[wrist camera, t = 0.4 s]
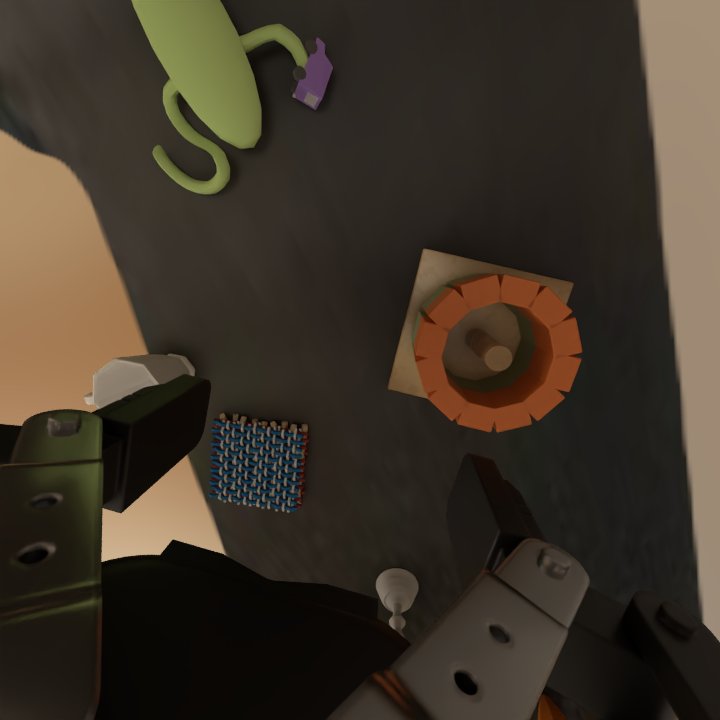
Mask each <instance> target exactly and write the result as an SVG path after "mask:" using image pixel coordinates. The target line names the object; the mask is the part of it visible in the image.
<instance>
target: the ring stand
mask: <svg viewBox="0 0 720 720" xmlns="http://www.w3.org/2000/svg"><path fill="white" fill-rule="evenodd" d="M474 273H478V274H481V273H490V274H507V275H511V276H515V277H520V278H524V279H528V280H533V281H537V282H540V283H541V284H540V285H541V286H548V287H549V288H550V289H551V290H552V291H553V292H554V293H555V294H556V295H557V296H558V297H559V298H560V299H561V300H562V301H563V302H564V303H565V304H567V301H568V298H569V296H570V293H571V290H572V287H573V284H574V283H572V282H568V281H564V280H559V279H555V278H551V277H546V276H542V275H538V274H533V273H529V272H525V271H521V270H516V269H512V268H508V267H503V266H499V265H495V264H490V263H486V262H482V261H477V260H473V259H469V258H464V257H460V256H456V255H451V254H447V253H443V252H438V251H434V250H430V249H425V248H424V249H423V250H422V254H421V258H420V262H419V266H418V270H417V273H416V277H415V281H414V285H413V289H412V293H411V297H410V301H409V305H408V309H407V312H406V316H405V320H404V324H403V328H402V332H401V336H400V340H399V344H398V348H397V351H396V355H395V359H394V363H393V367H392V371H391V375H390V379H389V383H388V389H391V390H395V391H399V392H403V393H407V394H411V395H415V396H419V397H423V398H427V399H428V395H427V393H424V390H423V386H422V383H421V379H420V376H419V372H418V368H417V365H416V361H415V357H414V352H413V347H412V343H413V341H412V334H413V330H414V326H415V323H416V319H417V315H418V311H423V312H425V310H424V309H423V307H422V305H423V304H424V303H425V302H426V301H427V300H428V299H429V298H430V296H431V295H432V294H433V293H434V292H435V291H436V290H437V289H438V288H439V287H440V286H441V285H443V286H446V287H448V285H447V282H448V281H451V280H455V279H458V278H461V277H464V276H468V275H471V274H474ZM520 340H521V335H520V330H519V326H518V322H517V317H516V315H515V314H514V313H513V312H512V311H511V310H510V309H509V308H508V307H506V306H505V305H504V304H503V303H502V302H498V303H494V304H491V305H487V306H484V307H480V308H477V309H473V310H470V311H469V312H468V313H467V314H466V315H465V316H464V317H463V318H462V319H461V320H460V321H459V322H458V323H457V324H456V325H455V326H454V327H453V328H452V329H451V330H450V331H449V334H448V338H447V341H446V345H445V348H444V352H443V355H442V361H443V364H444V367H445V368H446V369H447V370H449V371H450V372H451V373H452V374H453V375H454V376H459V377H463V378H467V379H471V380H479V379H483V378H487V377H491V376H495V375H497V374H499V373H500V372H501V371H503V370H505V369H507V368H508V367H509V366H510V365H511V363H512V361H513V360H514V358H515V355H516V352H517V349H518V346H519V343H520Z"/></svg>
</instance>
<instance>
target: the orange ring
mask: <svg viewBox="0 0 720 720" xmlns="http://www.w3.org/2000/svg"><path fill="white" fill-rule="evenodd" d="M540 284H541V283H540V282H537V281H533V280H528V279H524V278H520V277H515V276H511V275H507V274H482V275H479V276H476V277H472V278H469V279H466V280H462V281H459V282H456V283H453V286H454V289H452V288H449V287H447V288H446V289H445V290H444V291H443V292H442V293H441V294H440V295H439V296H438V297H437V298H436V299H435V300H434V301H433V302H432V303H431V304H430V305H429V306H428V307H427V308H426V309H425V312H426V313H427V315H428V316H429V317H426V316H421V319H420V322H419V326H418V330H417V334H416V337H415V341H414V349H415V351H414V357H415V361H416V365H417V368H418V372H419V376H420V379H421V383H422V386H423V390H424V393H427V395H428V399H429V400H430V401H431V402H432V403H433V404H434V405H435V406H436V407H437V408H438V409H440V410H441V411H442V412H443V413H444V414H445V415H446V416H447V417H448V418H449V419H450V420H454V419H455V418H456V421H457V423H458V424H459V425H463V426H467V427H471V428H475V429H479V430H483V431H487V432H491V430H492V427H493V426H494V428H495V429H496V431H497V432H501V431H505V430H510V429H514V428H518V427H522V426H526V425H531V424H532V423H531V418H530V414H531V415H532V416H533V417H534V418H535V419H536V420H537V421H538V420H540V419H541V418H542V417H543V416H544V415H545V414H547V413H548V412H549V411H550V410H551V409H553V408H554V407H555V406H556V405H557V404H558V403H560V402H561V401H562V400H563V399H564V398H565V397H564V396H563V395H562V394H561V393H560V392H559V391H558V390H562V391H566V392H569V391H570V388H571V386H572V383H573V381H574V378H575V375H576V373H577V370H578V367H579V365H580V362H581V358H579V357H577V356H575V355H573V354H577V353H581V352H582V348H581V342H580V337H579V332H578V327H577V322H576V318H574V317H571V316H568V315H569V314H570V313H572V310H571V309H570V308H569V307H568V306H567V305H566V304H565V303H564V302H563V301H562V300H561V299H560V298H559V297H558V296H557V295H556V294H555V293H554V292H553V291H552V290H551V289H550V288H549V287H548V286H541V285H540ZM498 302H502V303H506V304H510V305H514V306H515V307H516V308H517V309H518V310H519V311H520V312H521V313H522V314H523V315H524V316H525V317H526V318H527V319H528V320H529V321H530V322H531V325H532V330H533V334H534V339H535V343H536V348H535V351H534V354H533V357H532V359H531V362H530V365H529V368H528V370H527V371H526V372H525V373H524V374H523V375H522V376H520V377H519V378H518V379H517V380H516V381H515V382H514V383H513V384H511V385H510V386H509V387H506V388H502V389H498V390H494V391H490V392H487V393H481V392H477V391H473V390H469V389H465V388H461V387H459V386H458V385H457V384H456V383H455V382H454V381H453V380H452V379H451V378H450V377H449V376H448V375H447V374H446V372H445V368H444V364H443V361H442V355H443V352H444V348H445V345H446V341H447V338H448V334H449V331H450V330H451V329H452V328H453V327H454V326H455V325H456V324H457V323H458V322H459V321H460V320H461V319H462V318H463V317H464V316H465V315H466V314H467V313H468V312H469V311H470V310H473V309H477V308H480V307H484V306H487V305H491V304H494V303H498ZM557 389H558V390H557ZM529 413H530V414H529Z"/></svg>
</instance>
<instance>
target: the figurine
mask: <svg viewBox="0 0 720 720" xmlns="http://www.w3.org/2000/svg"><path fill="white" fill-rule="evenodd" d="M132 3H133V6H134V8H135V11H136V13H137V15H138V17H139V19H140V22H141V24H142V26H143V28H144V30H145V33H146V35H147V37H148V39H149V41H150V44H151V46H152V48H153V50H154V51H155V53H156V55H157V57H158V58H159V60H160V62H161V63H162V65H163V67H164V68H165V70H166V72H167V73H168V75H169V77H170V79H169V80H168V82H167V83H166V85H165V86H164V89H163V103H164V106H165V110H166V113H167V115H168V117H169V118H170V120H171V122H172V123H173V125H174V126H175V127H176V129H177V130H178V132H179V133H180V134H181V135H182V136H183V137H184V138H185V139H187V140H188V141H190V142H191V143H192V144H194V145H196V146H198V147H200V148H202V149H204V150H206V151H208V152H209V153H210V154H211V155H212V156H213V159H214V161H215V163H216V165H217V173H216V175H215V176H214V177H213V178H212V179H211V180H209V181H199V180H195V179H193V178H190V177H189V176H187V175H186V174H184V173H183V172H182V171H180V170H179V169H178V168H177V167H176V166H175V165H174V164H173V163H172V162H171V160H170V159H169V158H168V157H167V155H166V153H165V152H164V150H163V148H162V147H161V146H160V145H157V146H156V147H155V148H154V149H153V156H154V158H155V159H156V161H157V162H158V164H159V165H160V167H161V168H162V169H163V170H164V171H165V172H166V173H167V174H168V175H169V176H170V177H171V178H172V179H173V180H175V181H176V182H177V183H178V184H180V185H181V186H183V187H184V188H186V189H188V190H190V191H193V192H195V193H199V194H215V193H217V192H218V191H220V190H221V189H223V188H224V187H225V185H226V184H227V182H228V181H229V180H230V166H229V163H228V160H227V158H226V155H225V153H224V152H223V151H222V150H221V149H220V148H219V147H218V146H217V145H216V144H214V143H213V142H211V141H209V140H208V139H206V138H204V137H203V136H201V135H200V134H198V133H197V132H196V131H195V130H194V129H193V128H192V127H191V126H190V125H189V124H188V123H187V121H186V120H185V119H184V117H183V115H182V114H181V112H180V111H179V108H178V104H177V98H178V93H179V92H180V93H181V95H182V96H183V97H184V99H185V100H186V101H187V103H188V104H189V105H190V107H191V108H192V109H193V111H194V112H195V113H196V114H197V116H198V117H199V118H200V119H201V120H202V121H203V122H204V123H205V124H206V125H207V126H208V127H209V128H210V129H211V130H212V131H213V132H214V133H215V134H216V135H218V136H219V137H220V138H221V139H222V140H224V141H226V142H228V143H230V144H231V145H233V146H235V147H237V148H239V149H245V148H253V147H254V146H255V144H256V143H257V141H258V139H259V138H260V136H261V105H260V100H259V96H258V92H257V87H256V83H255V78H254V74H253V72H252V69H251V66H250V64H249V61H248V59H247V56H246V54H245V53H248V52H250V51H251V50H253V49H255V48H256V47H258V46H260V45H262V44H264V43H266V42H270V41H273V40H276V41H277V42H279V43H281V44H282V45H284V46H285V47H286V48H287V49H288V50H289V51H290V52H291V53H292V55H293V57H294V59H295V61H296V64H297V67H295V69H294V70H293V77H294V79H295V80H296V81H294V82H293V84H292V85H291V92H292V94H293V97H294V98H296V99H298V100H300V101H301V102H303V103H304V104H306V105H308V106H309V107H311V108H313V109H314V110H316V108H317V107H318V105H319V103H320V101H321V100H322V98H323V95H324V92H325V89H326V86H327V83H328V81H329V78H330V75H331V72H332V69H333V66H332V65H331V63H330V62H329V60H328V58H327V57H326V55H325V44H324V43H323V42H322V41H321V40H320V39H319V38H318V37H317V39H316V42H315V41H314V40H312V39H308V41H307V42H306V43H305V47H303V45H302V43H301V41H300V39H299V38H298V37H297V36H296V35H295V34H294V33H293V32H292V31H290V30H289V29H287V28H286V27H284V26H283V25H281V24H274V25H267V26H264V27H261V28H258V29H256V30H254V31H252V32H250V33H248V34H245V35H242V36H239V35H238V33H237V31H236V29H235V27H234V25H233V24H232V22H231V20H230V18H229V16H228V14H227V12H226V10H225V8H224V6H223V5H222V3H221V1H220V0H132ZM307 54H308V55H307Z"/></svg>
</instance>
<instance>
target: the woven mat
mask: <svg viewBox="0 0 720 720" xmlns="http://www.w3.org/2000/svg"><path fill="white" fill-rule="evenodd" d="M246 418H247V417H243V416H242V417H241V420H240V421H238V414H235V413H233V420H228V419H227V417H226V415H225V414H224V413H223V414H220V419H216V418H215V419H214V421H213V424H215V428H211V432H214V433H213V437H215V439H214V441H212V442H211V445H213V449H212V451H214V455H210V458H211V459H213V460H212V464H214V465H213V468H210V472H213V473H212V477H213V478H212V480H211V481H209V484H211V485H212V486H211V489H213V493H215V492H216V494H212V493H210V494H209V497H211V498H219V499H220V500H221V498H222V499H223V500H224V502H225V503H226V500H229V501H230V502H231V499H233V501H236V502H238V503H237V505H239V504H240V502H243V504H244V505H245V504H246V502H247V503H249V506H251V505H252V504H253V505H255V504H256V505H257V507H259V506H260V505H261V506H262V509H264V507H265V506H268V509H270V506H272V507H274V508H276V510H275V511H278V509H280V508H282V511H285V509H287V512H288V513H289V512H290V511H296V510H297V508H301V504H300V502H302V498H301V494H302V495H303V494H304V493H305V491H303V490H302V489H303V485H302V482H305V479H303V477H304V475H305V472H303V470H305V466H304V463H306V459H305V456H304V455H308V452H307V451H305V450H307V446H306V443H308V439H306V438H307V437H308V433H307V429H308V425H307V424H302V428H301V429H300V428H299V430H297V428H296V427H297V425H294V424H292V425H291V427H290V428H288V422H287V421H282V424H281V426H278V428H277V424H276V422H275V421H273V422H271V423H270V425H271V427H270V426H267V423H268V422H267V421H262V422H261V423H260V422H259V425H258V419H255V418H254V419H252V423H250V422H248V421H246ZM216 424H217V425H216ZM280 427H281V428H280ZM249 436H250V437H249ZM216 438H217V439H216ZM275 454H276V455H275ZM295 454H296V455H295ZM265 462H266V463H265ZM285 472H286V473H285ZM254 474H255V475H254ZM282 484H283V485H282ZM262 501H263V502H262ZM284 508H285V509H284Z"/></svg>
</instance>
